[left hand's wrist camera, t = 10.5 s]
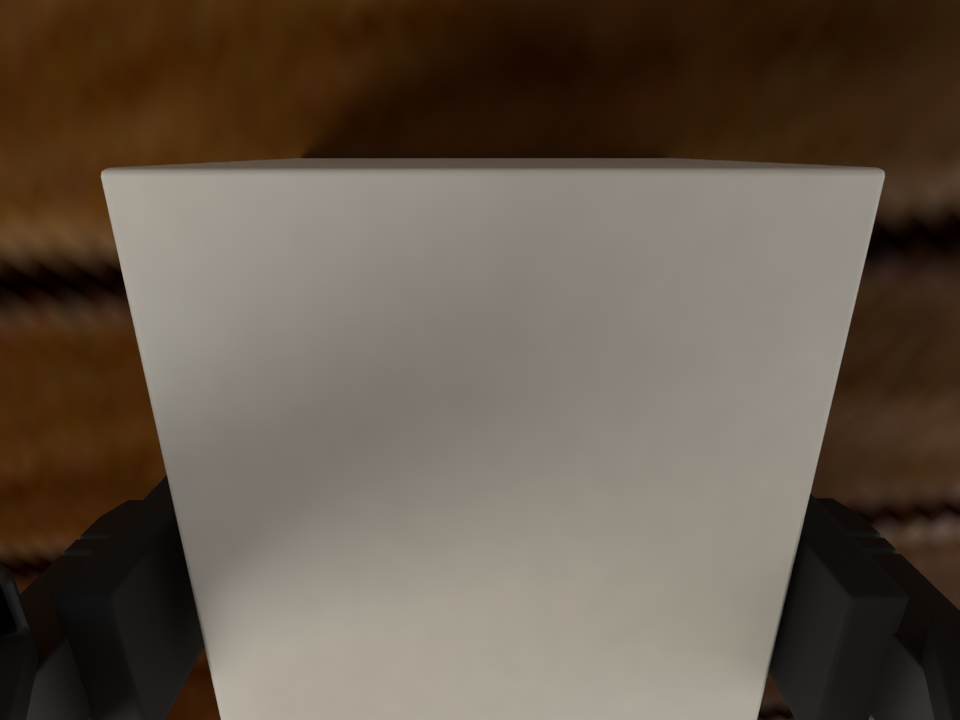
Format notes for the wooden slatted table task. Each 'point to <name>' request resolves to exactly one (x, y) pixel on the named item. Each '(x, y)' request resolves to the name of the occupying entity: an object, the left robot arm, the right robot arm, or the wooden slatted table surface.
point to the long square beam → (491, 422)
